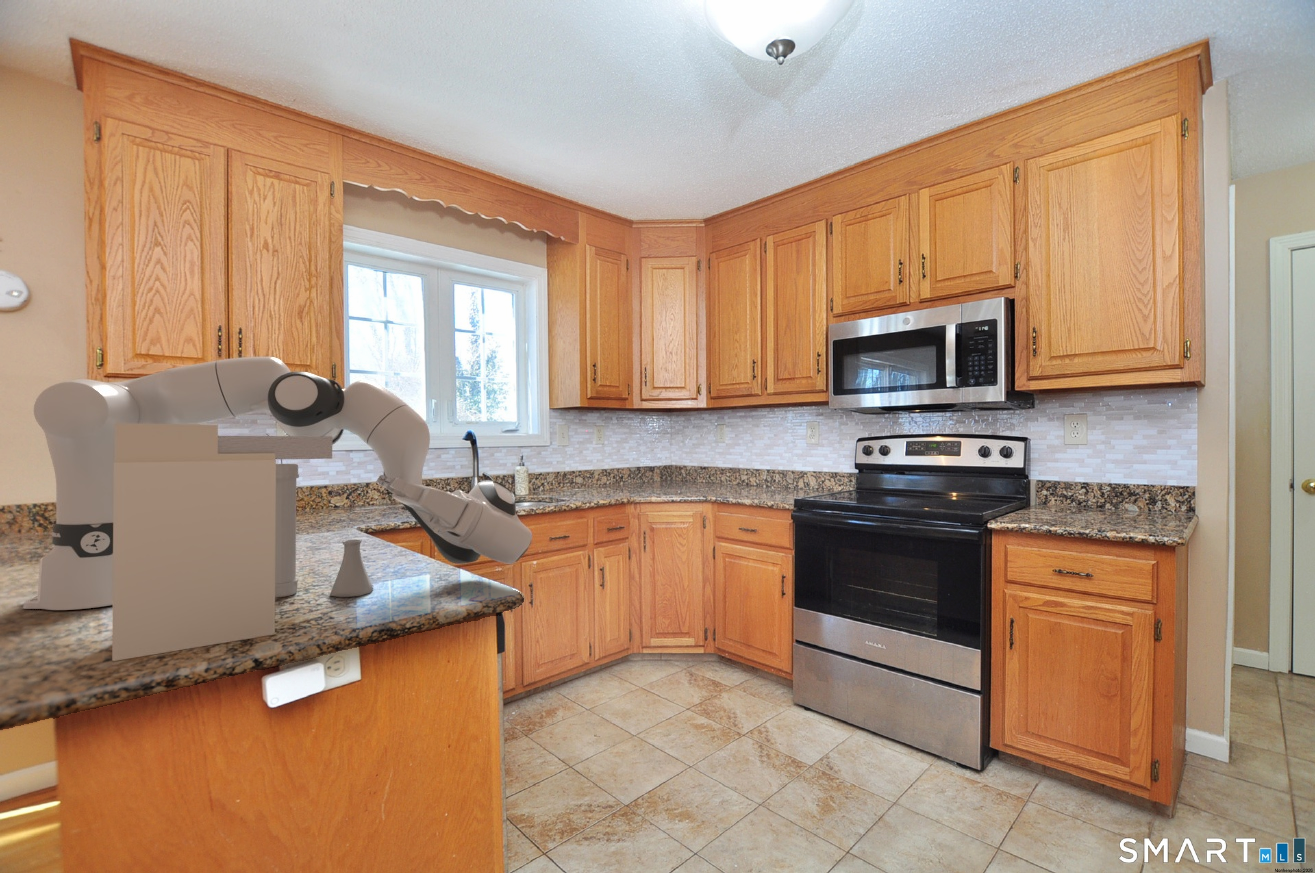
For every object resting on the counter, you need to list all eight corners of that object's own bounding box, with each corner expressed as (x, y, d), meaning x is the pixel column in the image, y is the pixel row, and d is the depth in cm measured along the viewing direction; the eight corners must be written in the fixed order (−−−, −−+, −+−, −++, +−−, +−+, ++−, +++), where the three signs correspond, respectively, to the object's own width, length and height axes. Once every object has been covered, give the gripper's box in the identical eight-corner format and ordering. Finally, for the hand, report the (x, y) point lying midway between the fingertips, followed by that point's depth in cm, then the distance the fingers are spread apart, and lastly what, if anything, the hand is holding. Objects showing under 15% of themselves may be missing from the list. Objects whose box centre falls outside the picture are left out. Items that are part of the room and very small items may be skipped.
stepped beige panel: (119, 640, 86) (121, 424, 86) (268, 617, 97) (269, 426, 97) (112, 661, 78) (114, 423, 78) (274, 634, 89) (276, 425, 89)
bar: (191, 459, 89) (191, 435, 89) (328, 457, 100) (328, 436, 100) (191, 460, 86) (191, 435, 86) (332, 458, 97) (332, 436, 97)
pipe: (281, 599, 109) (282, 433, 109) (252, 597, 110) (253, 433, 110) (305, 591, 114) (306, 433, 114) (277, 589, 115) (278, 433, 115)
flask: (361, 598, 109) (361, 544, 109) (321, 598, 109) (322, 543, 109) (380, 588, 117) (380, 537, 117) (343, 588, 117) (343, 537, 117)
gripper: (444, 495, 120) (380, 462, 113) (483, 504, 104) (411, 466, 97) (428, 523, 118) (362, 492, 111) (465, 537, 102) (391, 501, 95)
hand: (385, 480), depth 104 cm, fingers open, 8 cm apart
